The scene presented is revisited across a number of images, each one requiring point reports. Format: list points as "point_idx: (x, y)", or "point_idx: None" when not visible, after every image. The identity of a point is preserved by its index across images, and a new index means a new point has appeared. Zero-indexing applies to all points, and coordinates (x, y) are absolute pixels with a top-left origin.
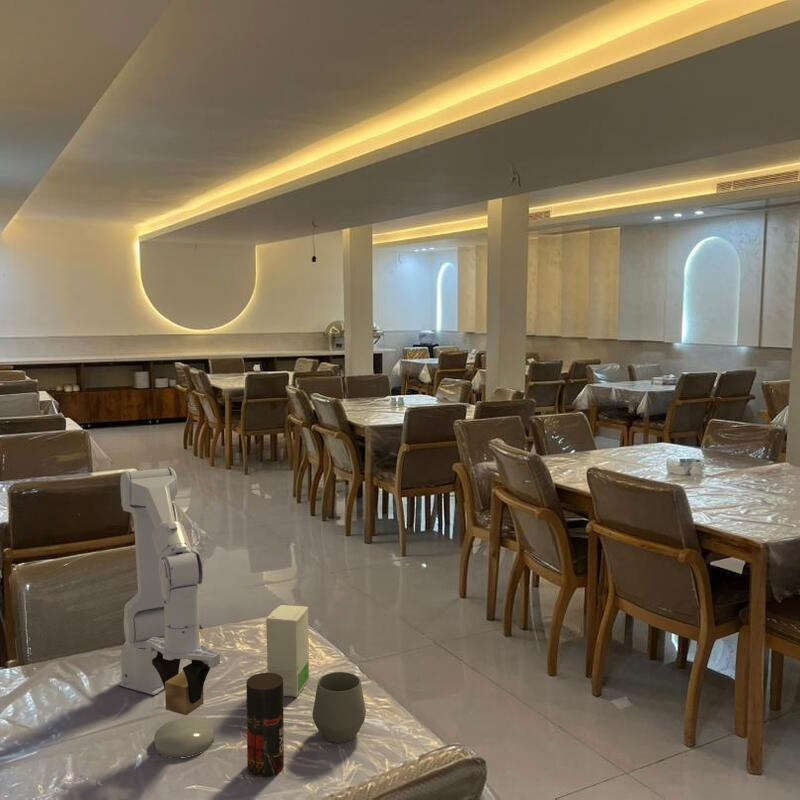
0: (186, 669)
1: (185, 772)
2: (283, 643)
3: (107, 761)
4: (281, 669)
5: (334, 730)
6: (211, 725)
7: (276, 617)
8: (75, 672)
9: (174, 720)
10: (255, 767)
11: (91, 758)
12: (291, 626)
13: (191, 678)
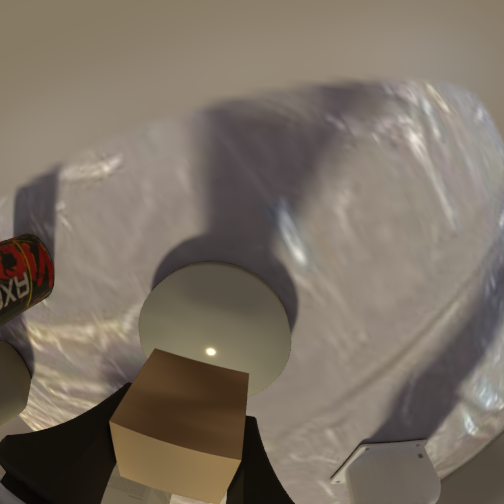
0: (25, 472)
1: (146, 211)
2: None
3: (368, 213)
4: (121, 491)
5: None
6: None
7: None
8: (480, 429)
9: (267, 386)
10: (19, 237)
11: (409, 219)
12: None
13: (49, 439)
